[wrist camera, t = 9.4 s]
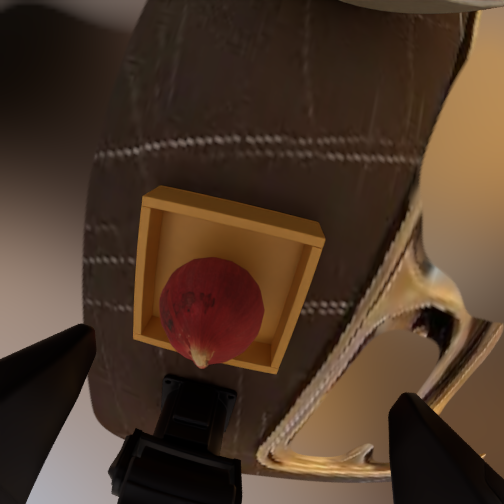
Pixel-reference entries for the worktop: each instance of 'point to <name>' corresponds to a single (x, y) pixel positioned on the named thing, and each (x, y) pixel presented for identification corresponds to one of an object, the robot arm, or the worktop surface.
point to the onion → (211, 310)
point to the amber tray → (229, 248)
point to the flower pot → (427, 5)
